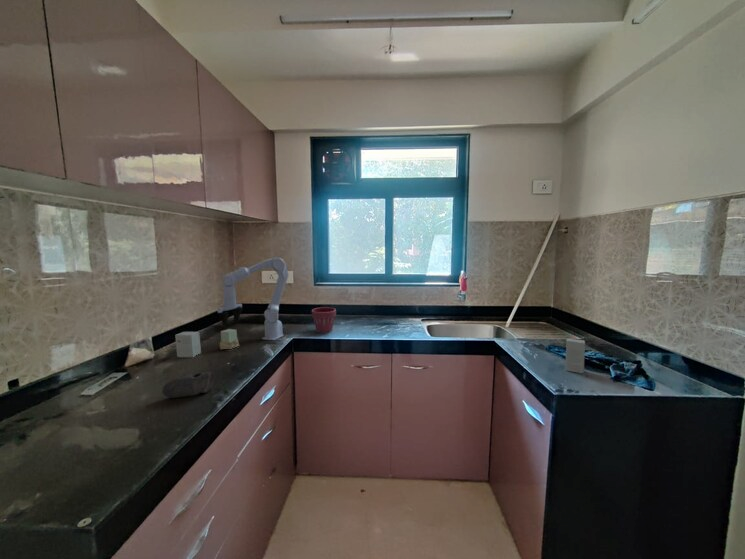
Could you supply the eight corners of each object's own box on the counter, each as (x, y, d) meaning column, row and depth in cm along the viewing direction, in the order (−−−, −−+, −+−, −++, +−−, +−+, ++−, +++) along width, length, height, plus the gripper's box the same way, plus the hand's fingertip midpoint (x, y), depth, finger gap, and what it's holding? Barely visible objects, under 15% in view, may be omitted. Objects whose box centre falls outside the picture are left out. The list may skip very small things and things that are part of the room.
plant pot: (334, 334, 171) (334, 311, 169) (310, 334, 171) (309, 312, 169) (337, 327, 185) (337, 307, 184) (314, 327, 185) (314, 307, 183)
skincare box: (583, 370, 117) (585, 340, 116) (583, 374, 114) (585, 343, 113) (565, 366, 121) (566, 337, 120) (564, 370, 117) (566, 340, 116)
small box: (201, 353, 141) (199, 331, 140) (193, 357, 135) (191, 335, 134) (185, 353, 142) (183, 331, 141) (176, 357, 136) (174, 334, 135)
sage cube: (229, 338, 151) (228, 328, 150) (237, 339, 149) (236, 329, 149) (221, 341, 146) (220, 331, 146) (229, 342, 145) (228, 332, 144)
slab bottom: (229, 346, 152) (229, 342, 152) (239, 347, 151) (239, 343, 150) (220, 350, 147) (220, 346, 146) (230, 351, 145) (230, 347, 145)
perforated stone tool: (160, 403, 96) (158, 382, 95) (165, 395, 100) (163, 375, 100) (213, 394, 101) (212, 374, 100) (215, 388, 106) (214, 368, 105)
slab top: (226, 342, 151) (226, 338, 151) (238, 343, 151) (238, 338, 151) (220, 346, 145) (219, 342, 145) (231, 347, 145) (231, 342, 145)
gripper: (233, 295, 161) (235, 319, 163) (211, 299, 147) (213, 326, 149) (244, 295, 159) (246, 320, 160) (223, 300, 145) (224, 327, 147)
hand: (231, 323), depth 154 cm, fingers open, 7 cm apart
